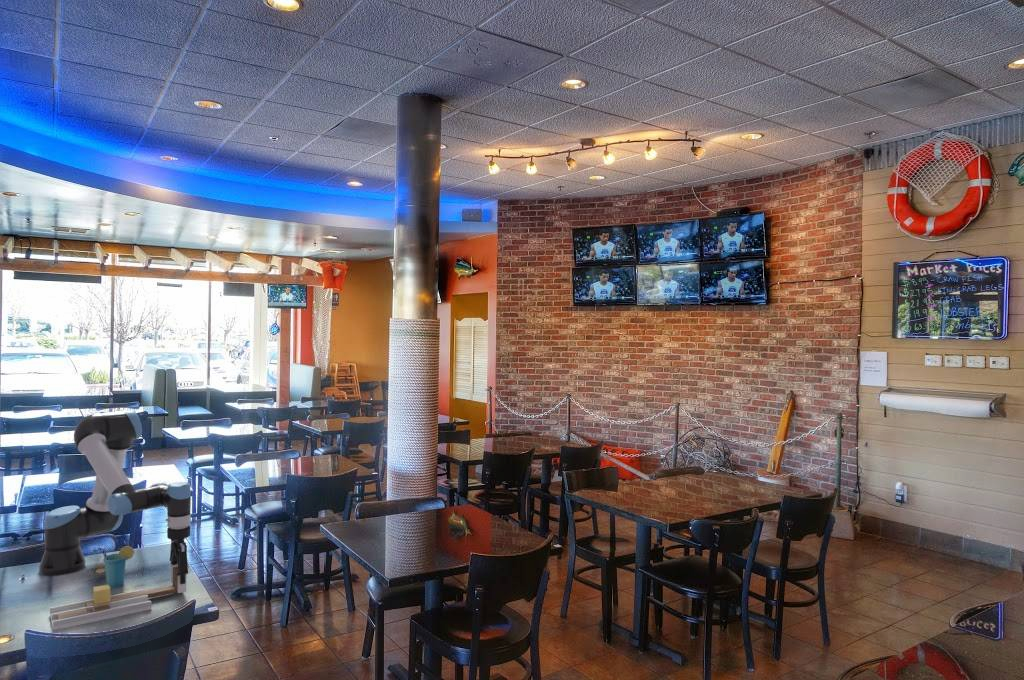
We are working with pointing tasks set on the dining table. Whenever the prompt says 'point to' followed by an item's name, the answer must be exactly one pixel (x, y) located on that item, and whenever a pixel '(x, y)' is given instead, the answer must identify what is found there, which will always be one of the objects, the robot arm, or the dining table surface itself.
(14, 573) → the dining table surface
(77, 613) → the broken strip
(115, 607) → the lane board
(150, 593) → the strip
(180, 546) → the robot arm
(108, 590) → the cube
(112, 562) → the cup
